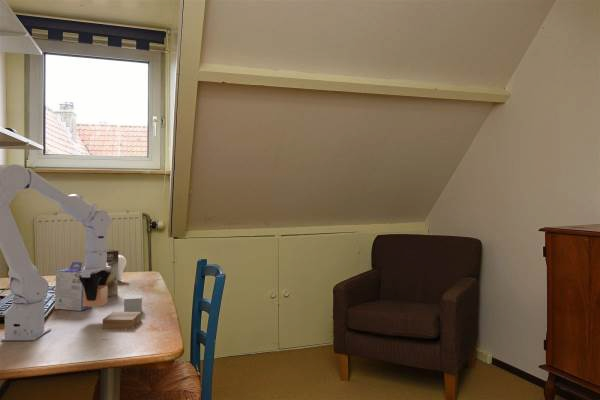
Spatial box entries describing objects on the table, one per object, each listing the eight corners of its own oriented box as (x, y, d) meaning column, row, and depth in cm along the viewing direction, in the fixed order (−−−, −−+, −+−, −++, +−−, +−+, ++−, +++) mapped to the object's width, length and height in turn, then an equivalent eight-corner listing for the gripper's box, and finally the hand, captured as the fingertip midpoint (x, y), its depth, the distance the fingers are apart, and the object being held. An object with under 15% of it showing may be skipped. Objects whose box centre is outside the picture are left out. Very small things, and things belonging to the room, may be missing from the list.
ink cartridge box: (93, 307, 149) (93, 262, 148) (81, 311, 143) (82, 265, 143) (66, 305, 150) (66, 260, 150) (54, 309, 145) (54, 263, 145)
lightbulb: (110, 280, 193) (110, 253, 193) (126, 279, 195) (127, 253, 194) (109, 283, 187) (109, 256, 187) (125, 282, 189) (126, 255, 188)
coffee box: (93, 299, 159) (94, 252, 159) (84, 296, 163) (85, 251, 163) (118, 294, 166) (118, 250, 166) (109, 292, 170) (109, 248, 170)
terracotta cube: (100, 306, 131) (101, 288, 131) (82, 306, 131) (83, 288, 131) (107, 302, 136) (107, 285, 136) (89, 302, 136) (90, 285, 136)
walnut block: (132, 330, 126) (132, 319, 126) (102, 330, 126) (102, 319, 126) (141, 322, 134) (141, 311, 134) (112, 322, 134) (113, 311, 134)
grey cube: (141, 314, 141) (141, 298, 141) (123, 315, 140) (124, 299, 140) (141, 310, 146) (141, 294, 146) (124, 311, 144) (125, 295, 144)
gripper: (100, 254, 126) (99, 304, 126) (118, 248, 141) (117, 292, 141) (74, 254, 126) (73, 303, 126) (95, 248, 140) (94, 292, 140)
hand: (95, 298), depth 133 cm, fingers closed on terracotta cube, 5 cm apart
